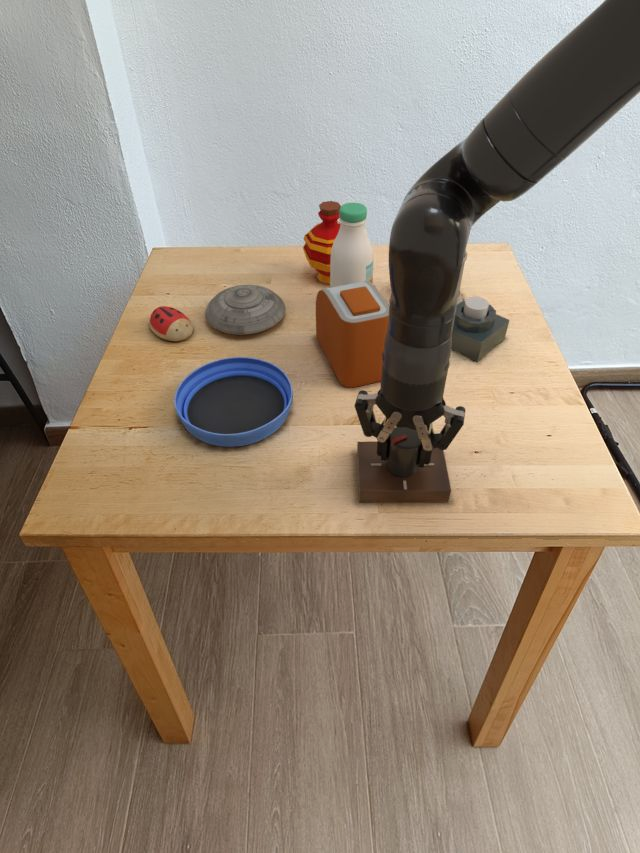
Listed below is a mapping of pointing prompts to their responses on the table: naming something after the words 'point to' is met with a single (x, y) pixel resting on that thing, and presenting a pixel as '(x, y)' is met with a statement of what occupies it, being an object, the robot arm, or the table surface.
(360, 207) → the milk bottle
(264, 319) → the flying saucer
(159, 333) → the ladybug figurine
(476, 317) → the grey push button
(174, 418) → the table surface
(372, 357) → the alarm clock
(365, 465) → the dial panel
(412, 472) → the dial
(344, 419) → the table surface
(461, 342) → the push button base
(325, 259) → the potion bottle
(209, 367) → the bowl
